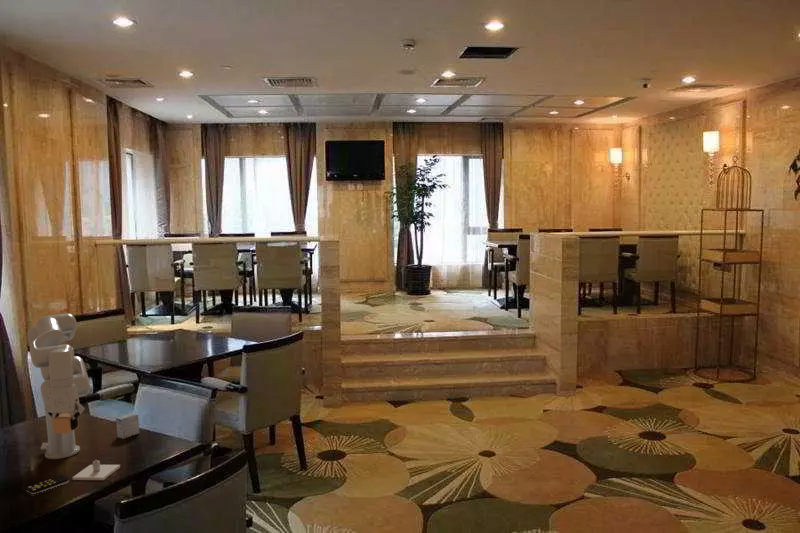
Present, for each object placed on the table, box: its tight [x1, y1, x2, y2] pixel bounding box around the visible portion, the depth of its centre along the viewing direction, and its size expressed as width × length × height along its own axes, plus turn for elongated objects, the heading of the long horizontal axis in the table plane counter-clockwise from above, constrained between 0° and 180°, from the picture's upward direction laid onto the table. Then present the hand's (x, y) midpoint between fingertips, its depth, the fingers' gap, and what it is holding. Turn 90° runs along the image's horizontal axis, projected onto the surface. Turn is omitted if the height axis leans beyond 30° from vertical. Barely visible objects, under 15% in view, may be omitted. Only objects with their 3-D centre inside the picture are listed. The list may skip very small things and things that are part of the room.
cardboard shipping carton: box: [53, 413, 80, 433], centre depth 232 cm, size 6×6×6 cm
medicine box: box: [115, 412, 140, 440], centre depth 269 cm, size 8×4×9 cm, turn 144°
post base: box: [72, 459, 121, 481], centre depth 230 cm, size 12×11×5 cm
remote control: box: [26, 475, 70, 494], centre depth 221 cm, size 6×13×2 cm, turn 142°
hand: (66, 428), depth 232 cm, fingers closed on cardboard shipping carton, 5 cm apart
